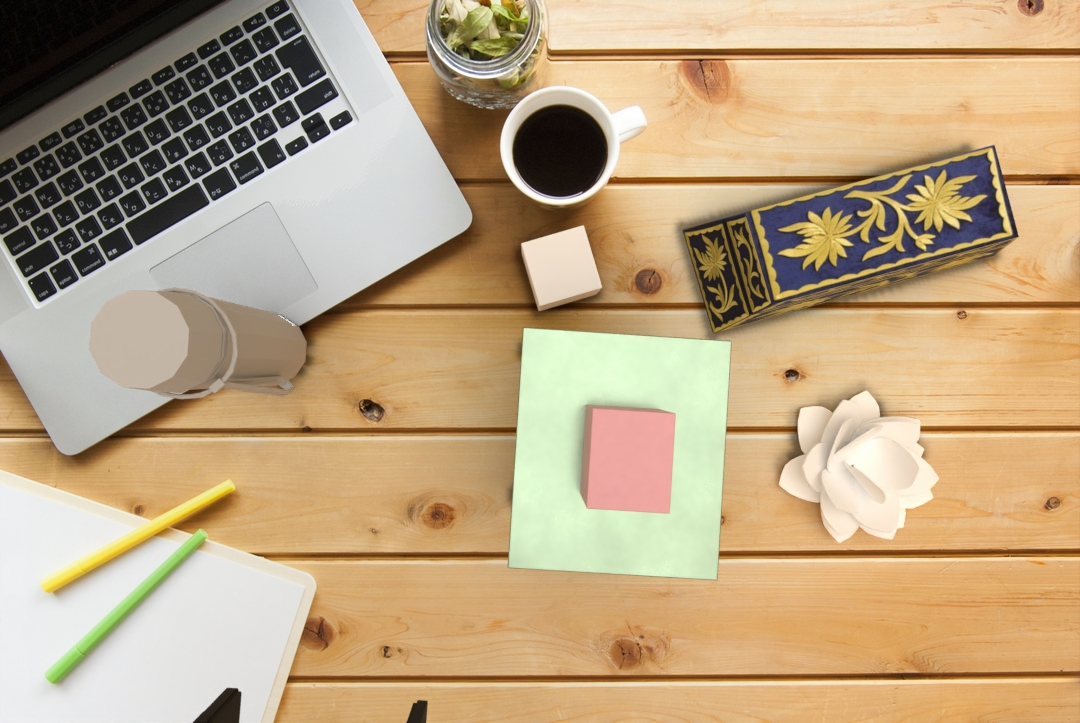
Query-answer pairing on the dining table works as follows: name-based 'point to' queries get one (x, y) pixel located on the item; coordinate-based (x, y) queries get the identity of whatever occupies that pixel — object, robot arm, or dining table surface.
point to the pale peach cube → (561, 268)
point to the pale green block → (557, 453)
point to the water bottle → (194, 345)
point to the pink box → (627, 459)
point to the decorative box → (852, 238)
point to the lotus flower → (859, 467)
